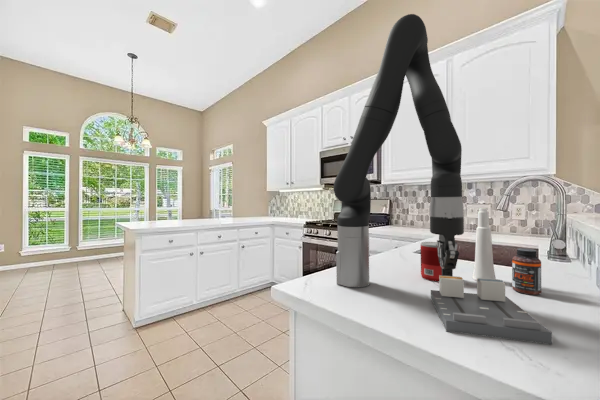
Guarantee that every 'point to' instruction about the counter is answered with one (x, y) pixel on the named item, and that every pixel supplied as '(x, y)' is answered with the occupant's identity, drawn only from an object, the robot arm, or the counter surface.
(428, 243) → the canned food
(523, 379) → the counter surface
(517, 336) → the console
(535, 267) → the supplement bottle
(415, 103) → the robot arm
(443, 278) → the fader
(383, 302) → the counter surface
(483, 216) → the cosmetic bottle
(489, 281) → the fader
